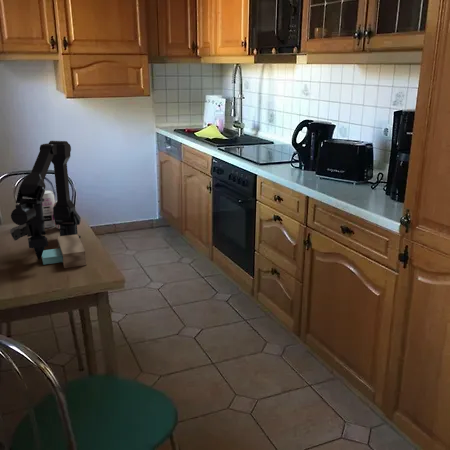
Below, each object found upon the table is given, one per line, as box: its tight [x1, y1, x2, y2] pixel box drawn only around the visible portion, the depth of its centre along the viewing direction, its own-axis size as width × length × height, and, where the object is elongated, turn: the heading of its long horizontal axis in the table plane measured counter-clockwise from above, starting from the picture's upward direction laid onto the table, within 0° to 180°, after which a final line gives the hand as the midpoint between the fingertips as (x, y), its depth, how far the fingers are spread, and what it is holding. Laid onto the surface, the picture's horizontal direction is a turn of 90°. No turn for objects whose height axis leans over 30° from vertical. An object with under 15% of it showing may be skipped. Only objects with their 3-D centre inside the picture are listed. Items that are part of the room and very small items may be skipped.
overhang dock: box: [56, 233, 87, 269], centre depth 189 cm, size 8×20×5 cm, turn 22°
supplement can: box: [42, 189, 56, 229], centre depth 224 cm, size 8×8×15 cm
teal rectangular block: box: [41, 248, 63, 265], centre depth 188 cm, size 12×8×2 cm, turn 113°
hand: (39, 258), depth 185 cm, fingers closed, pressing on teal rectangular block
